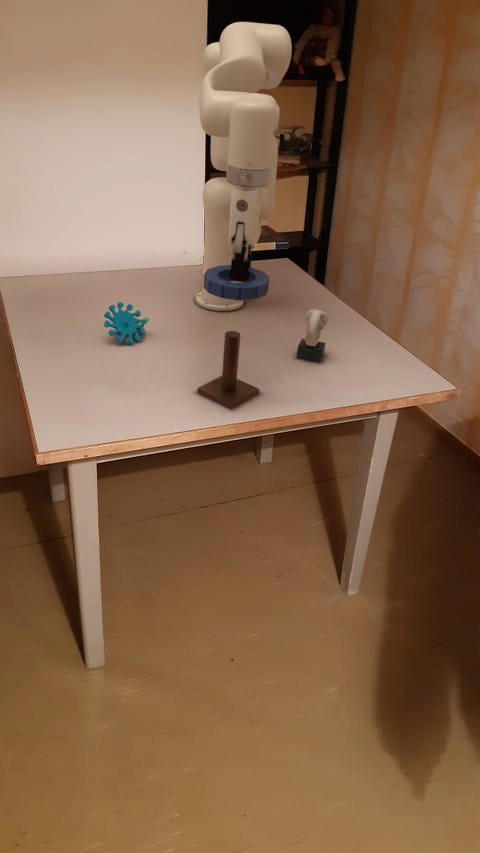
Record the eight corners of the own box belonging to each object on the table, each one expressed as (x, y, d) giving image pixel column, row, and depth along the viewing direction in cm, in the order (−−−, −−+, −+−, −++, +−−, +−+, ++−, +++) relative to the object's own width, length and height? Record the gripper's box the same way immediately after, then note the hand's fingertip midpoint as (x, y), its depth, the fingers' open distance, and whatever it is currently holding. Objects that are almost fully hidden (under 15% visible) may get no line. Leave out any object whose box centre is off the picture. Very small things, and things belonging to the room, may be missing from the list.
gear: (111, 343, 148) (101, 301, 149) (101, 352, 153) (92, 312, 154) (155, 340, 154) (145, 300, 156) (145, 350, 159) (135, 311, 160)
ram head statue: (325, 351, 156) (332, 307, 150) (318, 366, 150) (325, 320, 144) (301, 347, 157) (307, 303, 151) (294, 361, 151) (300, 315, 145)
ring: (231, 272, 131) (232, 260, 130) (280, 289, 125) (281, 277, 124) (191, 286, 123) (191, 274, 122) (240, 305, 117) (241, 292, 116)
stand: (225, 378, 141) (229, 320, 134) (259, 393, 137) (265, 334, 130) (197, 393, 135) (199, 333, 128) (231, 409, 131) (236, 348, 124)
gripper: (263, 189, 111) (253, 294, 121) (274, 170, 124) (264, 266, 134) (218, 184, 112) (212, 289, 121) (234, 165, 125) (228, 261, 135)
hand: (240, 276), depth 128 cm, fingers closed on ring, 2 cm apart
